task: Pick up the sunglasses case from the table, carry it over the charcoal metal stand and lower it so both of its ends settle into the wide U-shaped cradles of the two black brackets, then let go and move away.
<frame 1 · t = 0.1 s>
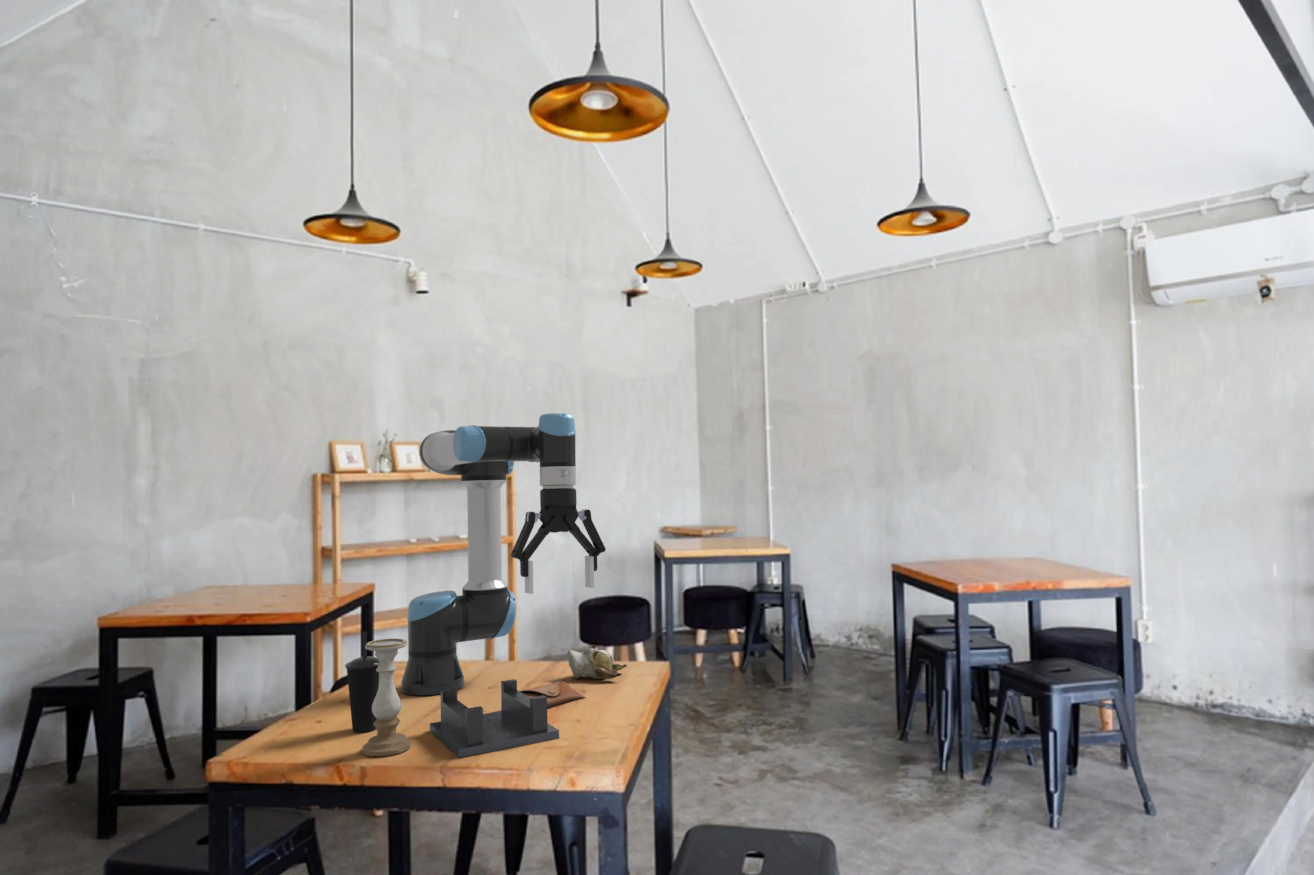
hand: (560, 590, 163), 28 cm above the table, fingers open, 13 cm apart
drinking cup: (365, 730, 164), on the table
candle holder: (386, 750, 150), on the table
ceramic sculpture: (596, 678, 203), on the table
sunglasses case: (547, 706, 180), on the table
slotted stand: (493, 734, 158), on the table
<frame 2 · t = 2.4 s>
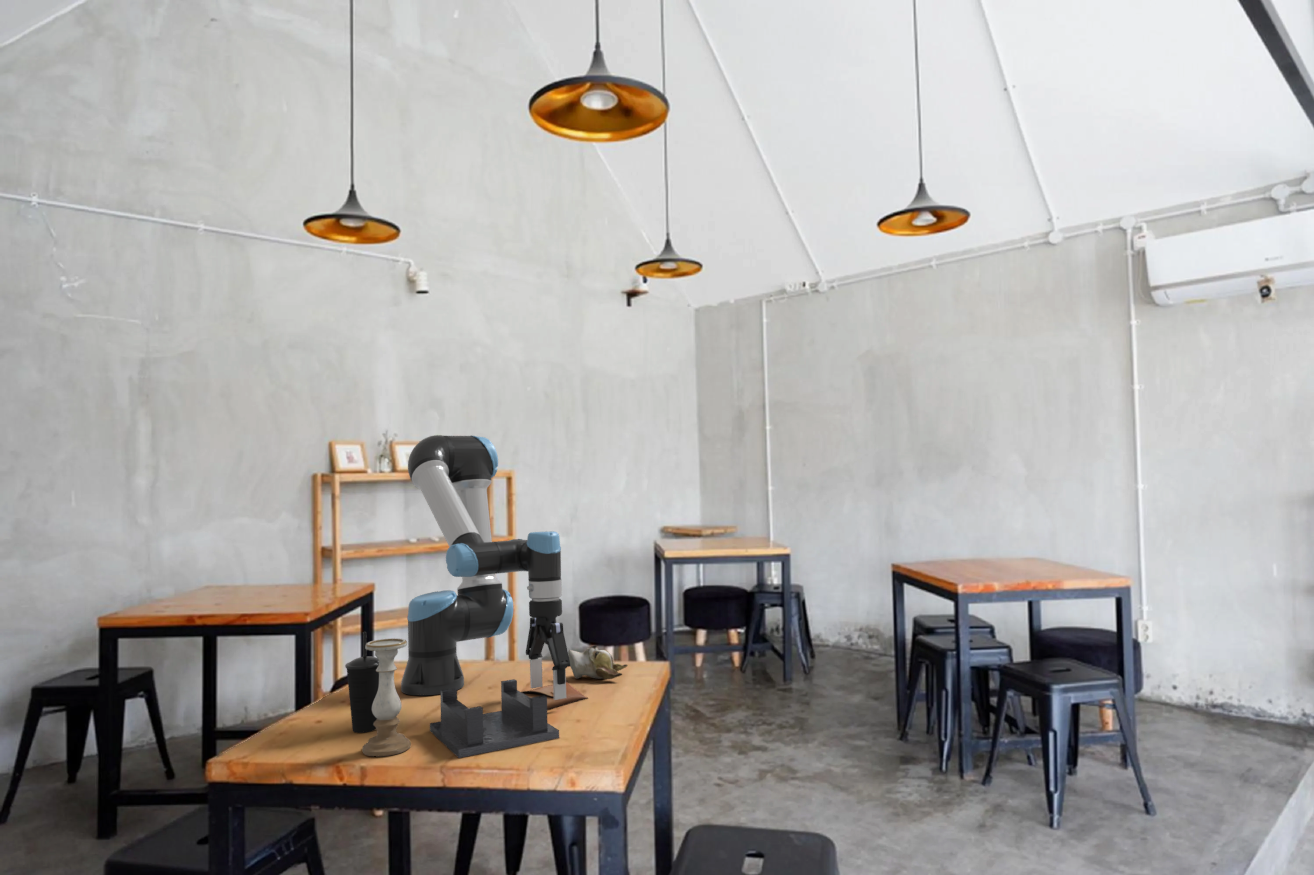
hand: (547, 692, 180), 2 cm above the table, fingers open, 13 cm apart
nothing on the table moved.
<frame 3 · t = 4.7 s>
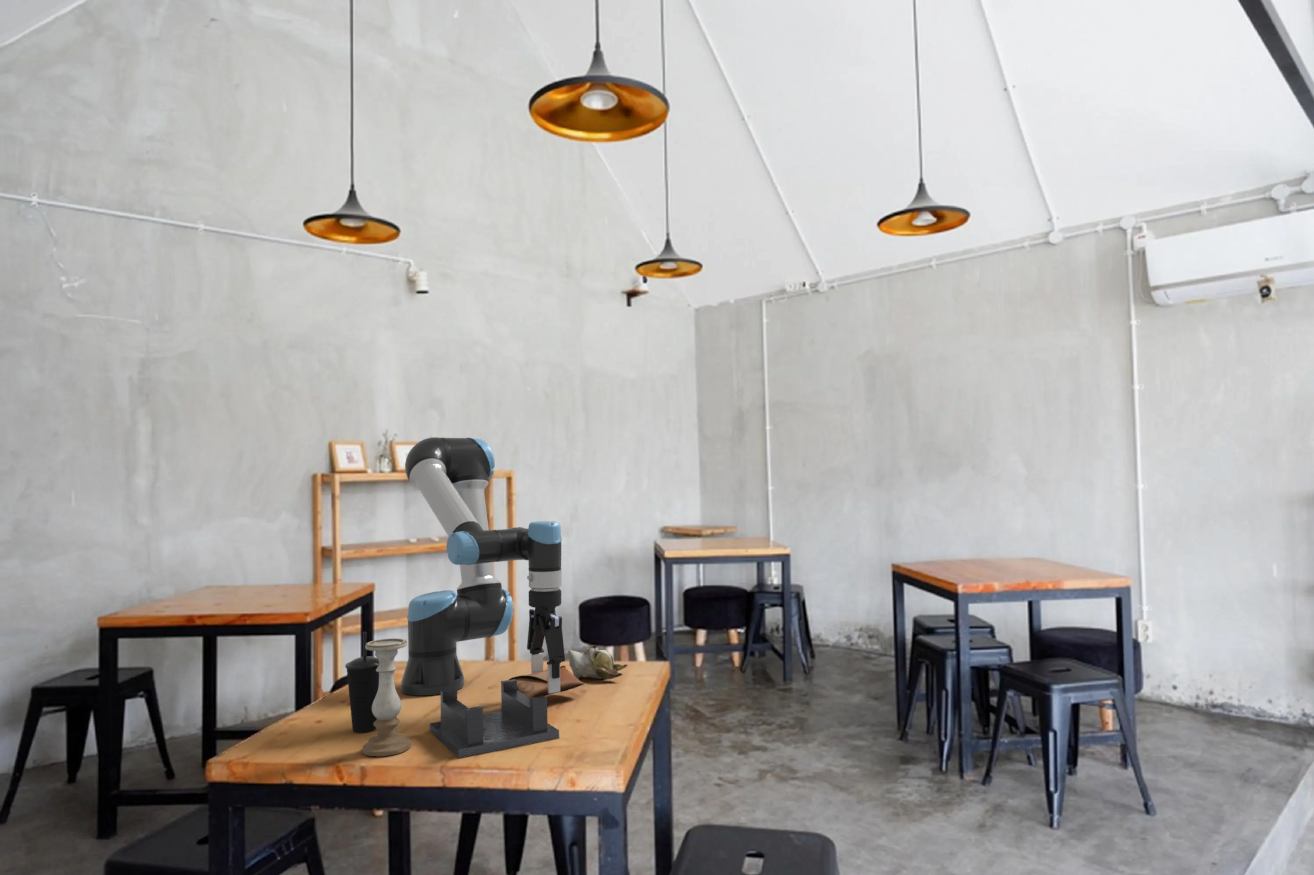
hand: (545, 687, 181), 3 cm above the table, fingers closed on sunglasses case, 9 cm apart
sunglasses case: (546, 691, 181), point 2 cm above the table, touching gripper
everything else where it was.
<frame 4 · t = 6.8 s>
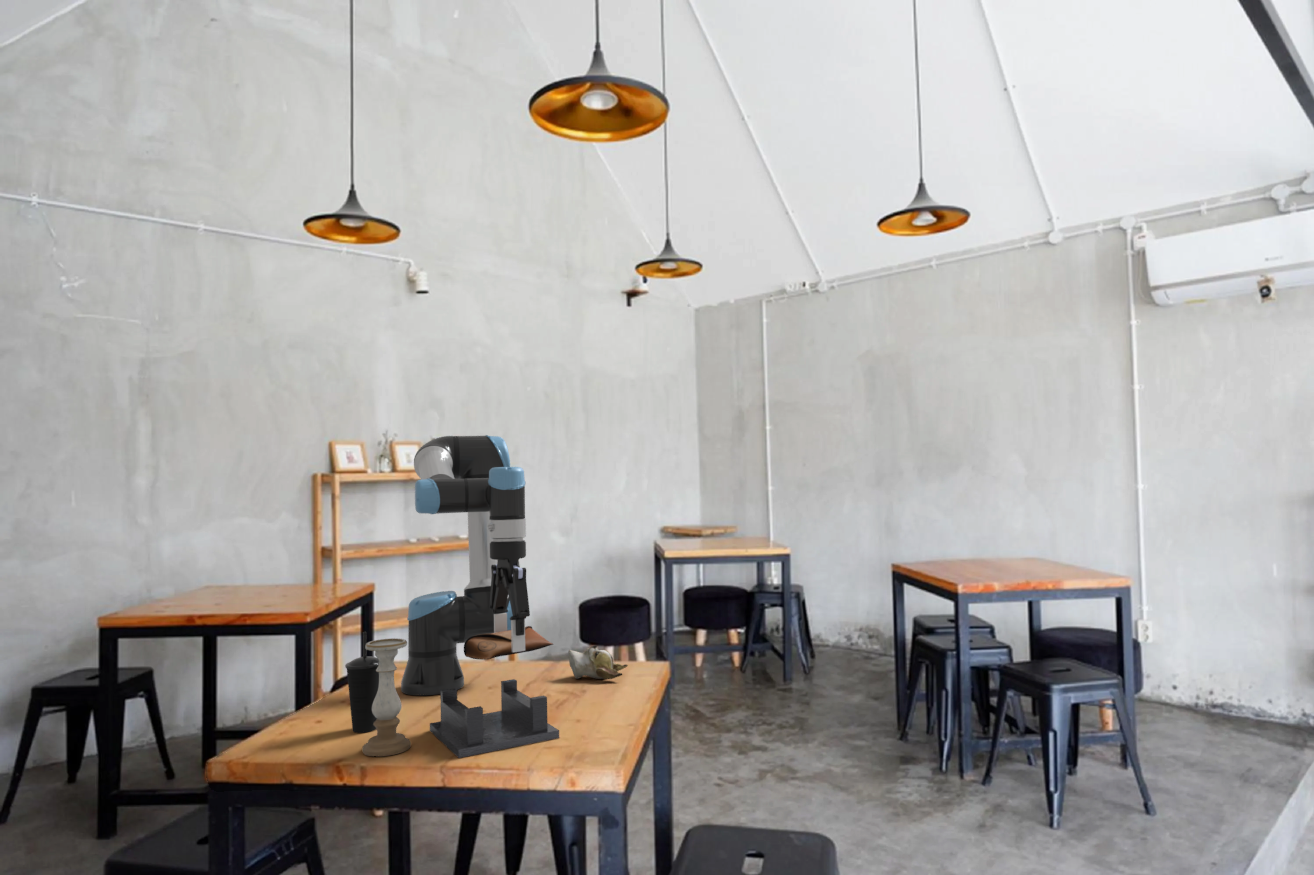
hand: (509, 647, 165), 16 cm above the table, fingers closed on sunglasses case, 9 cm apart
sunglasses case: (510, 652, 165), point 15 cm above the table, touching gripper
everything else where it was.
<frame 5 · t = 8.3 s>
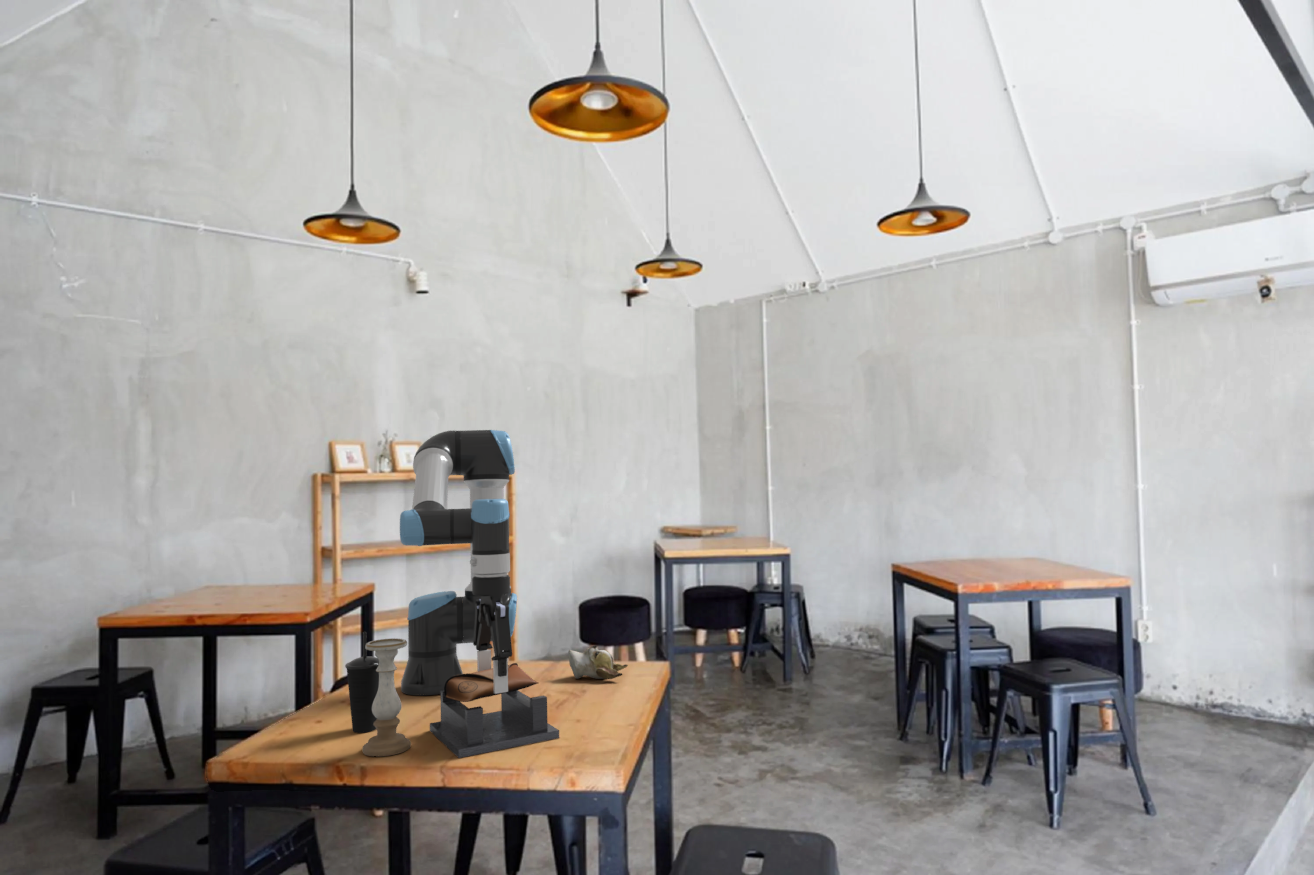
hand: (492, 687, 159), 9 cm above the table, fingers closed on sunglasses case, 9 cm apart
sunglasses case: (493, 692, 158), point 8 cm above the table, touching gripper
everything else where it was.
when the fingers open (7 cm above the table, at t = 9.3 s): sunglasses case stays where it is, resting on slotted stand.
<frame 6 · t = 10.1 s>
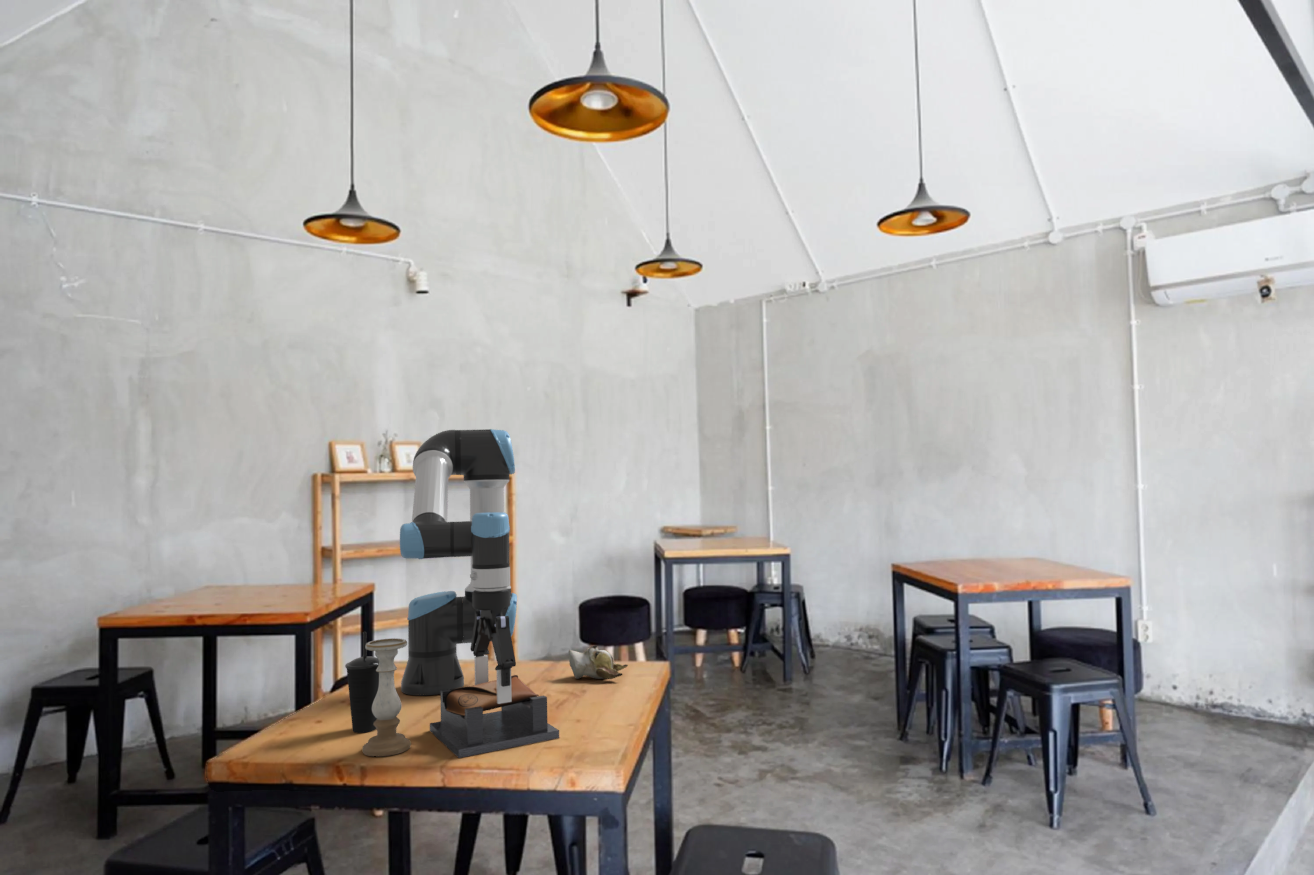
hand: (492, 695, 159), 8 cm above the table, fingers open, 13 cm apart
sunglasses case: (493, 704, 158), point 6 cm above the table, touching slotted stand
everything else where it was.
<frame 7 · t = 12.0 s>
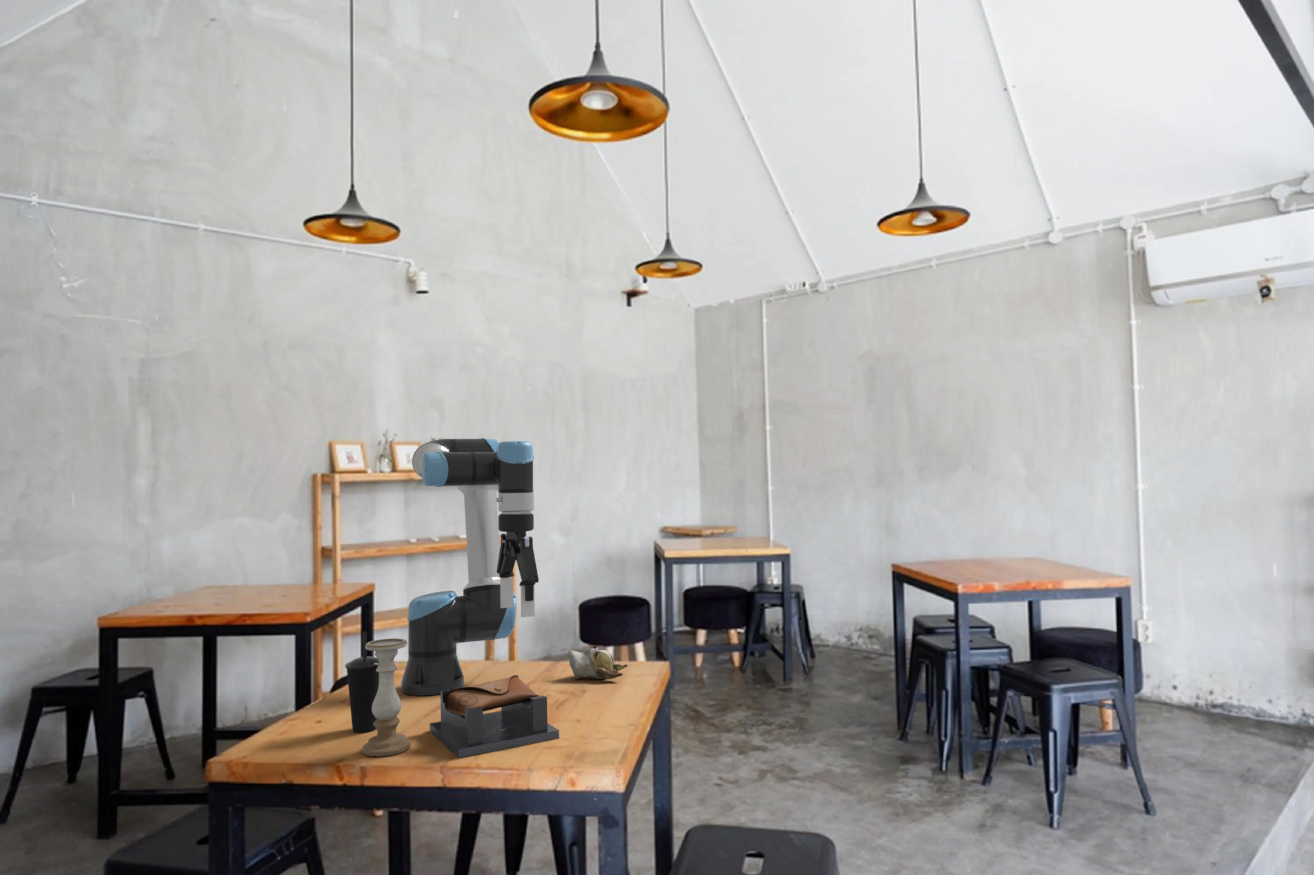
hand: (517, 612, 169), 23 cm above the table, fingers open, 13 cm apart
nothing on the table moved.
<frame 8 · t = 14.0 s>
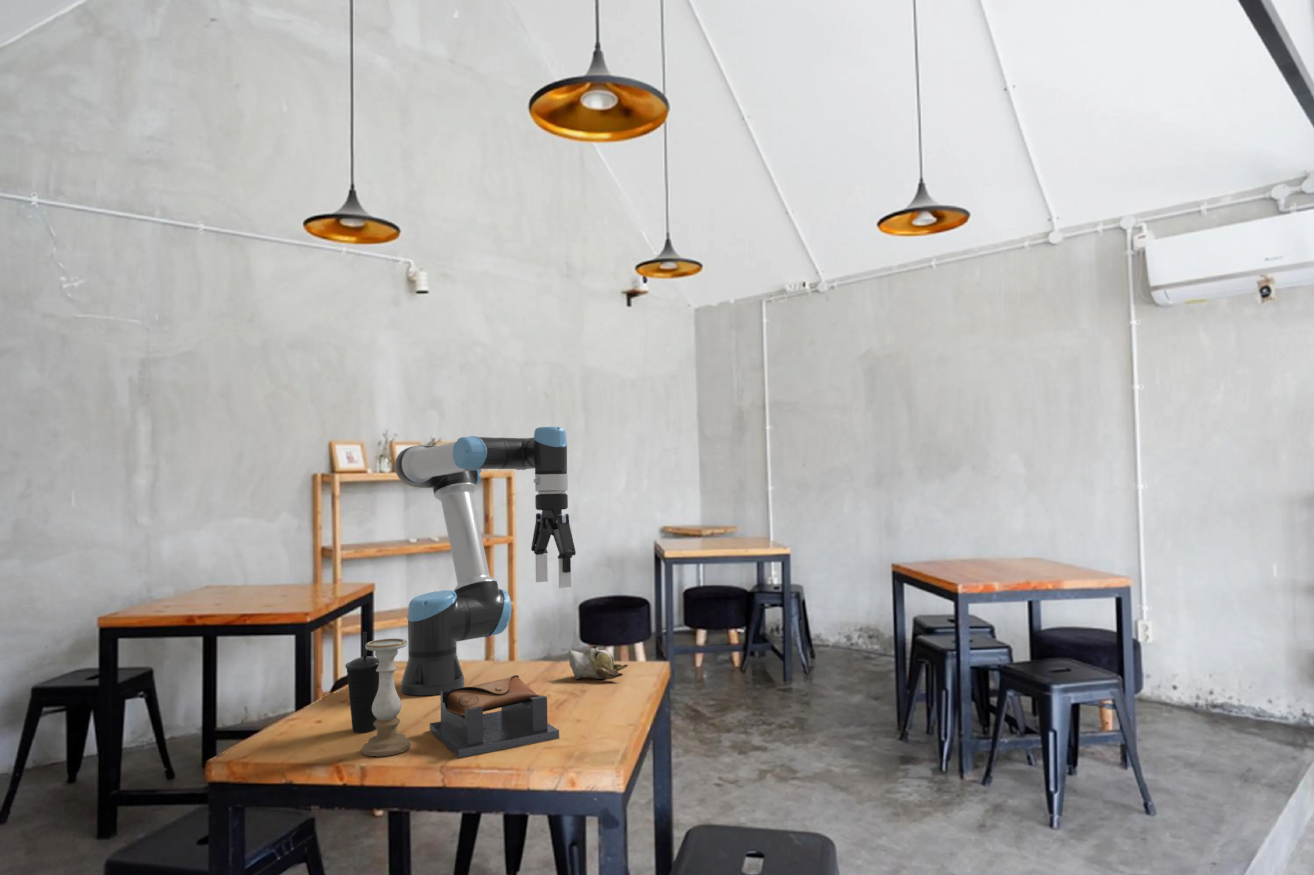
hand: (553, 584, 183), 27 cm above the table, fingers open, 13 cm apart
nothing on the table moved.
at the end: sunglasses case 0.5 cm off-centre on the slotted stand, point 5.8 cm above the slotted stand's base; sunglasses case tilted 2°; the gripper is holding nothing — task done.
